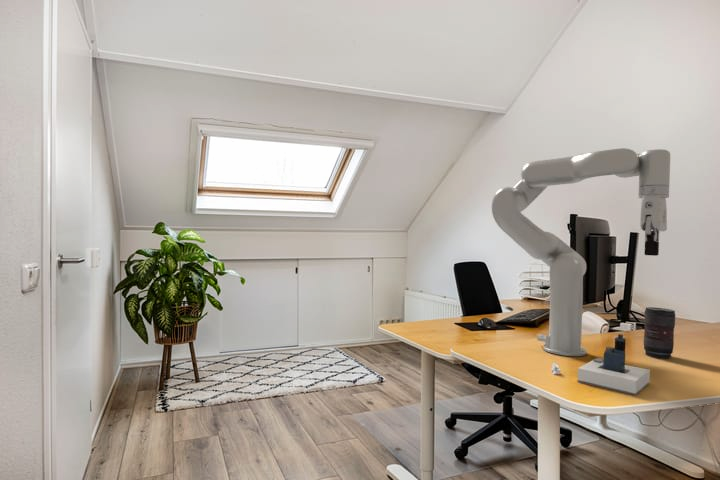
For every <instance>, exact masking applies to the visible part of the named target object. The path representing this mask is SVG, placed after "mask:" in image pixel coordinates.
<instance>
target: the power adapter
mask: <svg viewBox="0 0 720 480" xmlns="http://www.w3.org/2000/svg"><path fill="white" fill-rule="evenodd" d="M561 371H562V370H561V369H560V366H559V365H557V364H556V363H555V362H553V363H552V365H551V374H552V375H560V374H561V373H562V372H561Z"/></svg>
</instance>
